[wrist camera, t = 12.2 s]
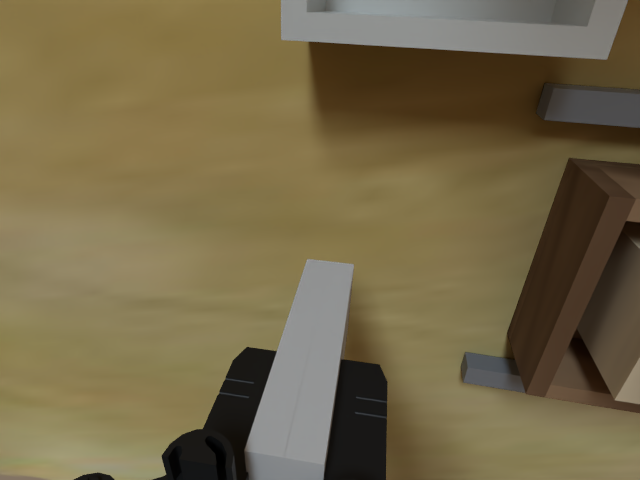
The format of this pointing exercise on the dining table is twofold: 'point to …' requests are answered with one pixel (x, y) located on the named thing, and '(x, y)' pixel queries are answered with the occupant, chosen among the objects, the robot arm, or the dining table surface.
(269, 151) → the dining table surface
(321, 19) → the grey tub
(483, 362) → the slate bay
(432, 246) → the dining table surface
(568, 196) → the walnut box
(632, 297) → the letter cube
